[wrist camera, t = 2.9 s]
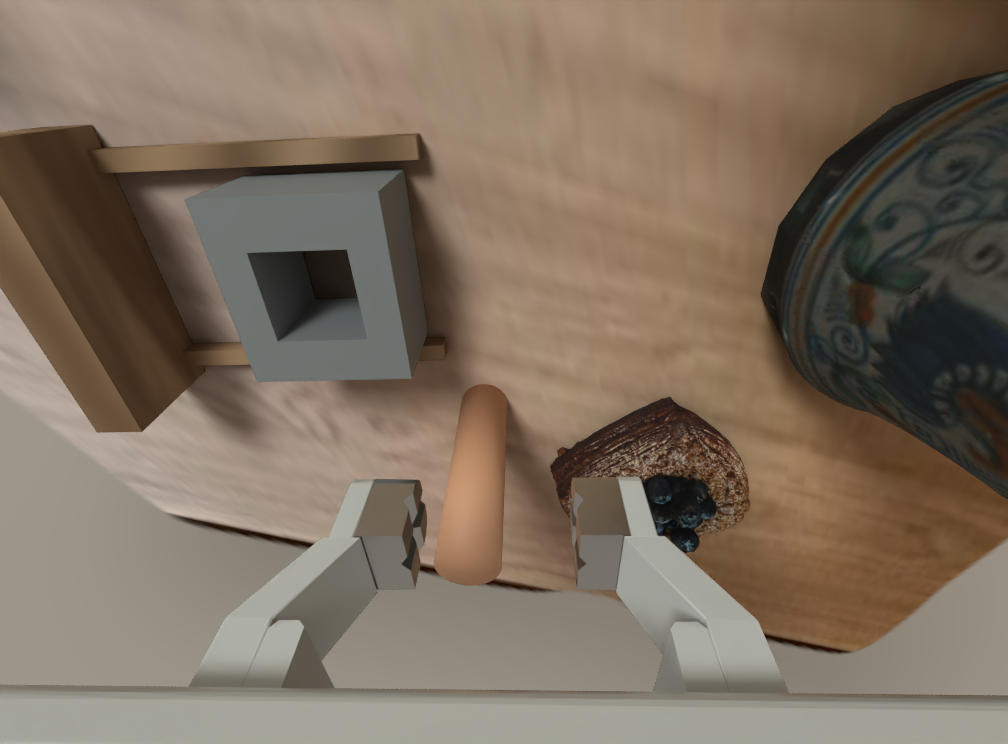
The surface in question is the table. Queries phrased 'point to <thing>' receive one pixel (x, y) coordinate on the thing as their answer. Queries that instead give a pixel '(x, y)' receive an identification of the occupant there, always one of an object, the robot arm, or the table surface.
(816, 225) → the beer stein
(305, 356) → the block
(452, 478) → the dowel
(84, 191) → the rail frame
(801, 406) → the table surface
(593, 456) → the pastry
